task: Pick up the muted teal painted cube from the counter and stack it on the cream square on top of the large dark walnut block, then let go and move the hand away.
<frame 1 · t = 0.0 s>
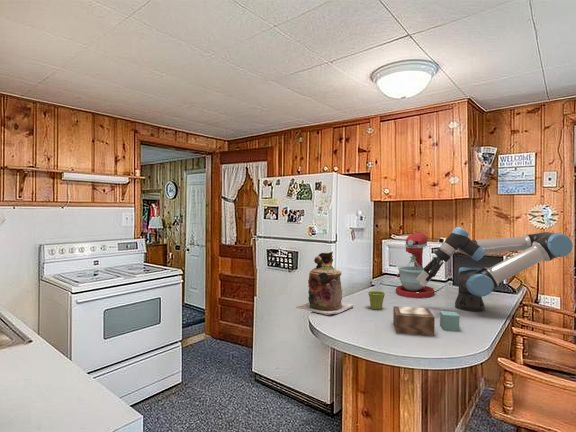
hand: (420, 283, 202), 15 cm above the worktop, tool tilted 35°, fingers open, 13 cm apart
plant pot: (376, 308, 207), on the worktop
walnut block: (412, 328, 171), on the worktop
teal cube: (449, 328, 173), on the worktop
cookie jar: (325, 308, 206), on the worktop
stand mixer: (414, 293, 247), on the worktop
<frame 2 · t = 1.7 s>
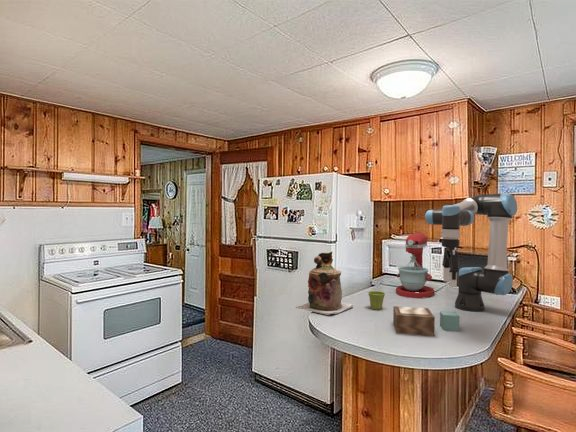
hand: (449, 284, 173), 21 cm above the worktop, tool pointing down, fingers open, 13 cm apart
nothing on the worktop moved.
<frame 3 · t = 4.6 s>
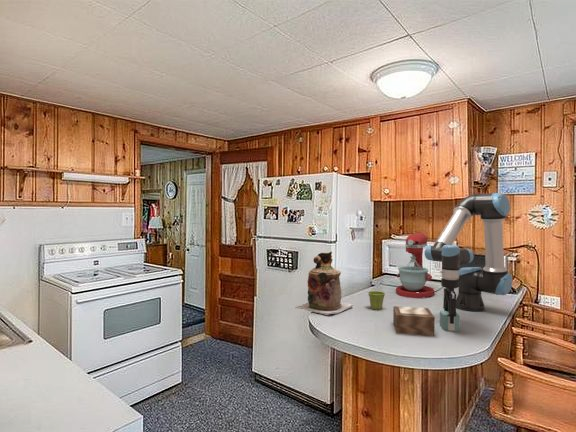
hand: (449, 327, 173), 0 cm above the worktop, tool pointing down, fingers closed on teal cube, 7 cm apart
teal cube: (449, 328, 173), on the worktop, touching gripper
everything else where it was.
when the fingers open (10 cm above the worktop, at t = 11.3 s): teal cube stays where it is, resting on walnut block.
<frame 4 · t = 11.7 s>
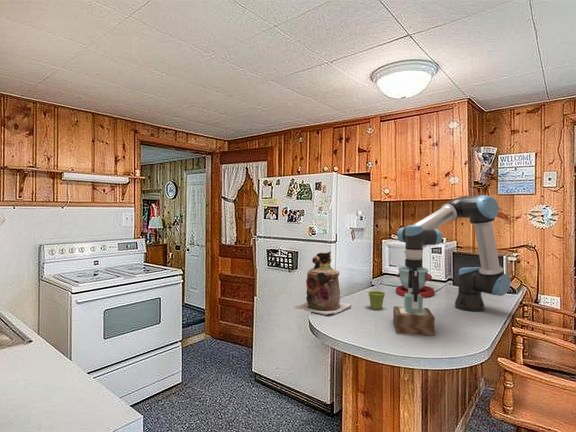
hand: (413, 305, 171), 11 cm above the worktop, tool pointing down, fingers open, 12 cm apart
teal cube: (413, 310, 171), point 8 cm above the worktop, touching walnut block
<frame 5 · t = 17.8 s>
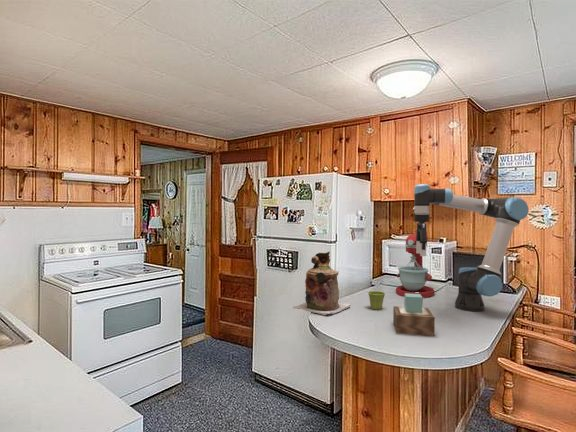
hand: (421, 254, 194), 32 cm above the worktop, tool pointing down, fingers open, 13 cm apart
at the end: teal cube inside the target area on the walnut block (0.1 cm from its centre), point 8.5 cm above the walnut block's base; teal cube tilted 0°; the gripper is holding nothing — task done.
